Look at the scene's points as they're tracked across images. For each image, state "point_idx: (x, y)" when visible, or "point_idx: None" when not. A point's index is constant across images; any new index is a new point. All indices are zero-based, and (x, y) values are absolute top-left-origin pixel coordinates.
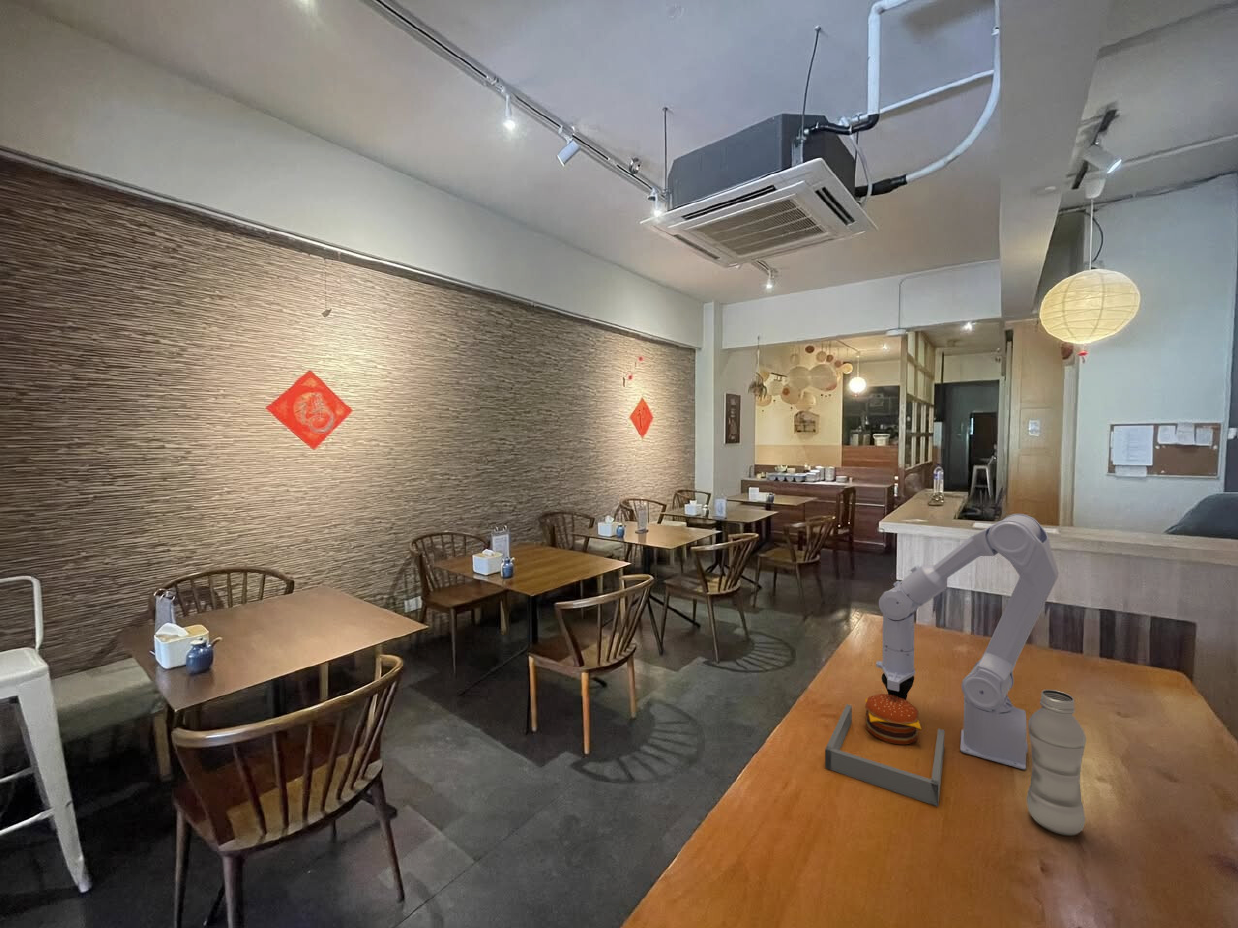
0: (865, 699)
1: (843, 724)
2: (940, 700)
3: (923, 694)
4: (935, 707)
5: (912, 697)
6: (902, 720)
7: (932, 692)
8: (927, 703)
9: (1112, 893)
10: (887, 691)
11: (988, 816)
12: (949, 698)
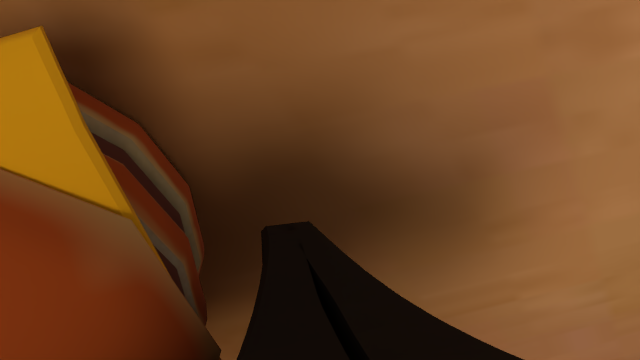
0: (7, 43)
1: None
2: (565, 323)
3: (610, 258)
4: (491, 328)
5: (567, 227)
6: None
7: (636, 281)
8: (520, 295)
9: None
10: (240, 350)
11: None
12: (592, 340)
